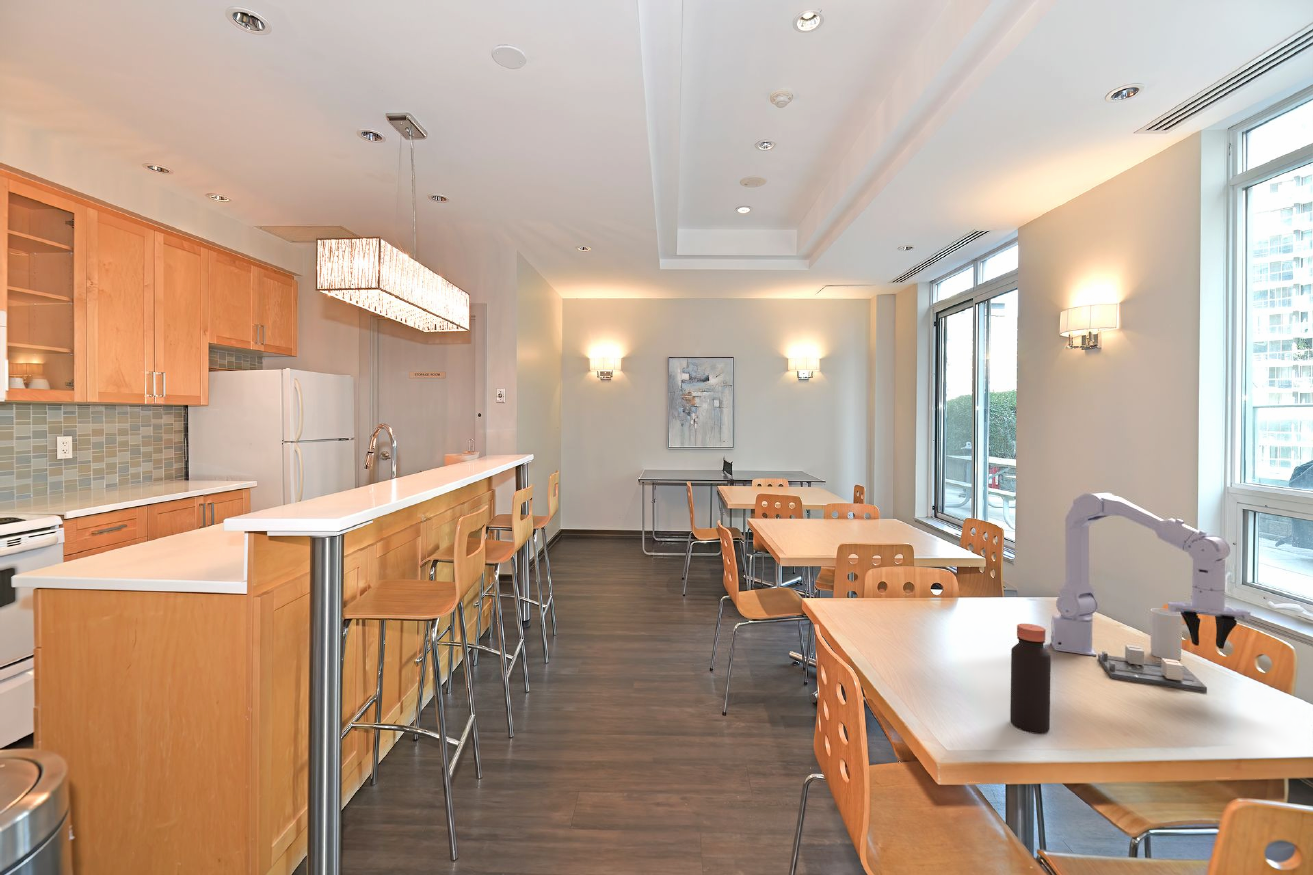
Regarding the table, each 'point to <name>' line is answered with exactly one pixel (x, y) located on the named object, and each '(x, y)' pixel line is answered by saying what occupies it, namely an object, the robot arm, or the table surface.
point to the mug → (1166, 633)
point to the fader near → (1172, 669)
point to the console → (1148, 673)
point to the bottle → (1030, 680)
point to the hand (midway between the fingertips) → (1207, 645)
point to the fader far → (1134, 654)
